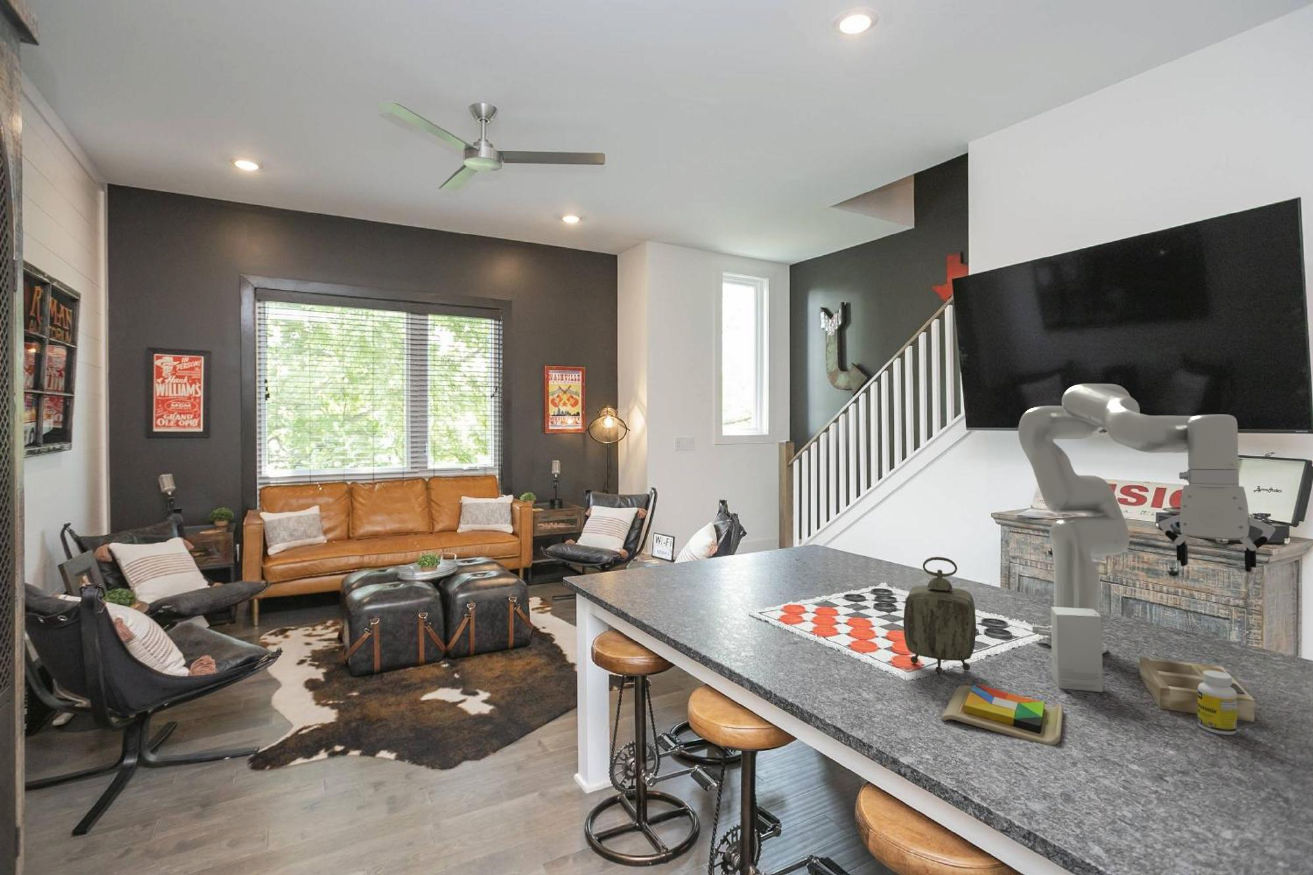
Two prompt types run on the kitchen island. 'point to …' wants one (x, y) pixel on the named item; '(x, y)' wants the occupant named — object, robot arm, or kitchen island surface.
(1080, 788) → the kitchen island surface
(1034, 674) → the kitchen island surface
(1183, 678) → the socket block
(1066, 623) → the skincare box
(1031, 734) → the wooden puzzle
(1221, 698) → the supplement bottle
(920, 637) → the tabletop clock
